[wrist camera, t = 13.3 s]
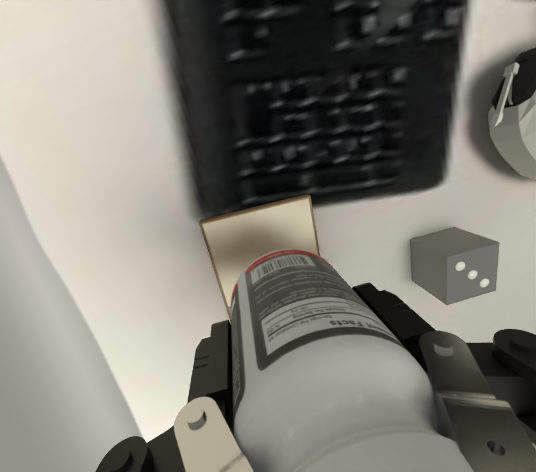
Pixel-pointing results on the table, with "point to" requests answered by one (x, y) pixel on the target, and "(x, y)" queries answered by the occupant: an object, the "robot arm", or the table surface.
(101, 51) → the table surface
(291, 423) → the pill bottle
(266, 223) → the board
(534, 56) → the robot toy
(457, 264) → the die
